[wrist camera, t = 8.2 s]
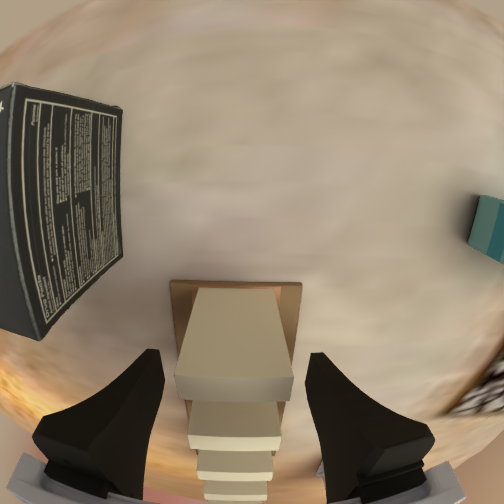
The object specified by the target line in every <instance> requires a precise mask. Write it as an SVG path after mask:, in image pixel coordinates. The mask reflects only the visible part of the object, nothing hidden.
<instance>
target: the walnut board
mask: <svg viewBox="0 0 504 504" xmlns="http://www.w3.org/2000/svg"><path fill="white" fill-rule="evenodd" d="M170 287H171V297H172V308H173V317H174V326H175V334H176V342H177V349H178V356H179V355H180V351H181V347H182V344H183V340H184V337H185V333H186V330H187V326H188V323H189V319H190V316H191V312H192V309H193V306H194V302H195V299H196V295H197V292H198V289H199V288H239V289H274V293H275V297H276V302H277V306H278V310H279V314H280V319H281V323H282V327H283V332H284V336H285V340H286V345H287V349H288V353H289V358H290V362H291V366H292V360H293V353H294V346H295V340H296V333H297V326H298V318H299V311H300V303H301V295H302V283H280V282H224V281H190V280H171V282H170ZM192 401H193V400H186V405H187V411H188V416H189V420H190V413H191V407H192ZM277 407H278V414H279V422H280V428H281V423H282V417H283V412H284V407H285V401H277ZM198 451H199V449H196V453H197V455H198ZM275 452H276V450H274V451H271V453H272V456H275Z"/></svg>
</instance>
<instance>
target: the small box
mask: <svg viewBox="0 0 504 504" xmlns="http://www.w3.org/2000/svg"><path fill="white" fill-rule="evenodd" d="M122 112H123V110H122V109H121V108H120V107H118V106H109V105H106V104H102V103H98V102H95V101H92V100H89V99H85V98H80V97H76V96H72V95H68V94H64V93H59V92H55V91H50V90H45V89H40V88H35V87H30V86H27V85H24V84H21V83H18V82H12V83H10V84H8V85H6V86H4V87H2V88H0V328H1V329H4V330H7V331H9V332H13V333H15V334H18V335H21V336H25V337H28V338H31V339H34V340H36V341H41V340H42V339H43V338H44V337H45V336H46V334H47V333H48V332H49V330H50V329H51V327H52V326H53V325H54V324H55V323H56V322H57V320H58V319H59V317H61V316H62V315H63V313H64V312H65V311H66V310H67V309H69V307H70V306H71V304H73V303H74V302H75V301H76V300H77V299H78V298H80V296H81V295H82V294H83V293H84V292H85V291H86V290H87V289H88V288H89V287H90V286H91V285H92V284H93V283H95V281H97V280H98V279H99V278H100V276H101V275H103V274H104V273H105V272H106V271H107V270H108V269H109V268H110V267H112V266H113V265H114V264H115V263H116V262H117V261H118V260H120V259H121V258H122V257H123V250H122V233H121V214H120V212H121V210H120V146H121V125H122Z"/></svg>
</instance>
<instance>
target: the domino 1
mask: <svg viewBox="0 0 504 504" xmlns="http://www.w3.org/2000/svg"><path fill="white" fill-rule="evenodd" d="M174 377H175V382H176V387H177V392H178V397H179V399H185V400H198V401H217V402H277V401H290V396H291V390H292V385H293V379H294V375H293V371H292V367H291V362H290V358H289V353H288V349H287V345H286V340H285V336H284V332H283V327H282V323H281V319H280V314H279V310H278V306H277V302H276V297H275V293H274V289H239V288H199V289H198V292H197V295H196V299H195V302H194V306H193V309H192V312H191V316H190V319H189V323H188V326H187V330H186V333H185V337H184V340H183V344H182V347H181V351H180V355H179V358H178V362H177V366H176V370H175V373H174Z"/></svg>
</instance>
